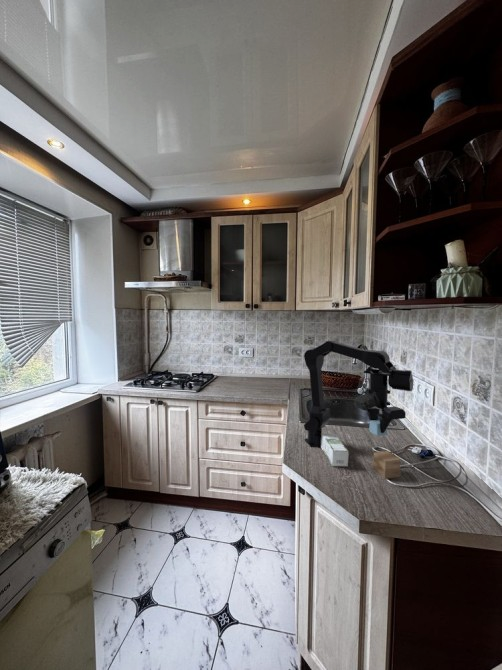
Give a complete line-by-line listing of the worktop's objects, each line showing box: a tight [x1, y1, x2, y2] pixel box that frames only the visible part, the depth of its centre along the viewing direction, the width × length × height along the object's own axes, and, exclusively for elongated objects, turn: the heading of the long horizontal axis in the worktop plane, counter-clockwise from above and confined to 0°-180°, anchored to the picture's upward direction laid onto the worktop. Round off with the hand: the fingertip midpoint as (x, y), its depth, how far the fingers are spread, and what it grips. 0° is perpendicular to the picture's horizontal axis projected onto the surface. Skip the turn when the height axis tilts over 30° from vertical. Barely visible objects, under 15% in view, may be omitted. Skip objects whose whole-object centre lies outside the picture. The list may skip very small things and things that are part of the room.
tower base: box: [372, 460, 402, 480], centre depth 89 cm, size 6×6×3 cm
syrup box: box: [320, 433, 349, 467], centre depth 99 cm, size 6×6×14 cm
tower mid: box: [373, 450, 401, 470], centre depth 89 cm, size 6×6×3 cm
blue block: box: [368, 419, 388, 437], centre depth 93 cm, size 4×4×4 cm
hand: (378, 430), depth 93 cm, fingers closed on blue block, 4 cm apart
